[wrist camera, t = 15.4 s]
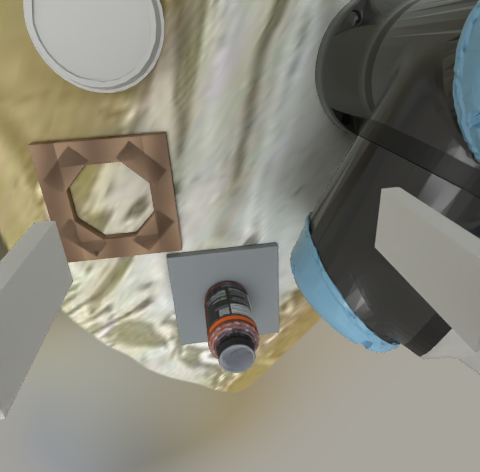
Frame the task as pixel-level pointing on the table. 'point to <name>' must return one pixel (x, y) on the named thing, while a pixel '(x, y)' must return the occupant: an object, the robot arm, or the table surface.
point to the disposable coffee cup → (97, 40)
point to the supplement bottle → (231, 326)
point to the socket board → (106, 151)
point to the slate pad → (224, 270)
